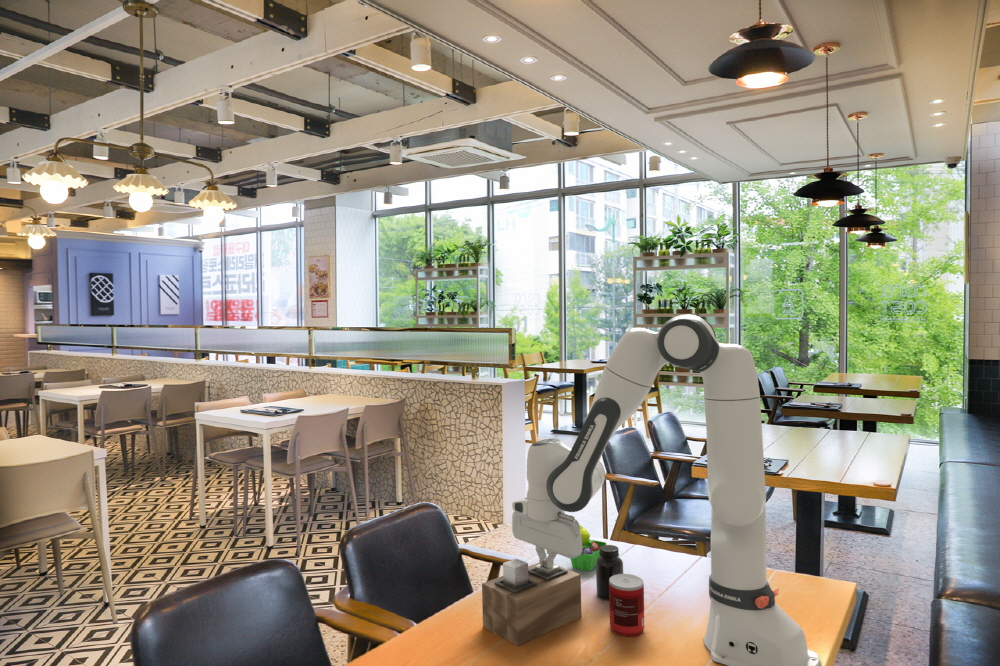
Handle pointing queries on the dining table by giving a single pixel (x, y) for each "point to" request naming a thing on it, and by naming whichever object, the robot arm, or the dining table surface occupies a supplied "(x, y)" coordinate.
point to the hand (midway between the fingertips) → (546, 566)
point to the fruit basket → (587, 552)
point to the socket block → (531, 605)
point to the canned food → (626, 604)
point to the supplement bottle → (607, 568)
